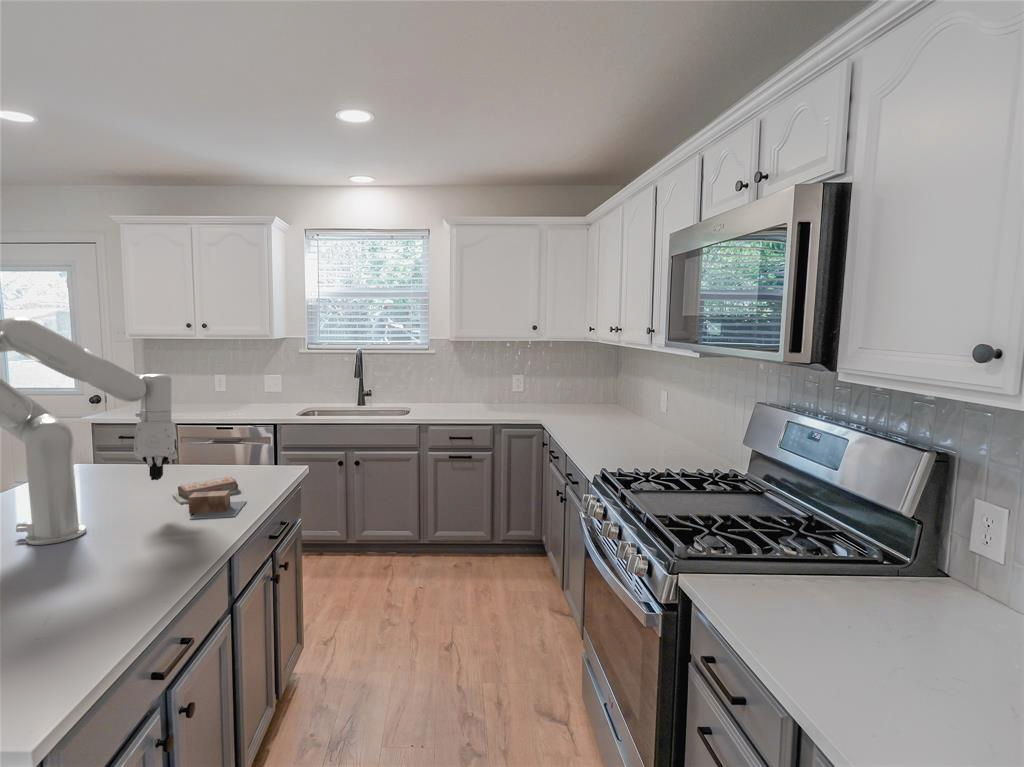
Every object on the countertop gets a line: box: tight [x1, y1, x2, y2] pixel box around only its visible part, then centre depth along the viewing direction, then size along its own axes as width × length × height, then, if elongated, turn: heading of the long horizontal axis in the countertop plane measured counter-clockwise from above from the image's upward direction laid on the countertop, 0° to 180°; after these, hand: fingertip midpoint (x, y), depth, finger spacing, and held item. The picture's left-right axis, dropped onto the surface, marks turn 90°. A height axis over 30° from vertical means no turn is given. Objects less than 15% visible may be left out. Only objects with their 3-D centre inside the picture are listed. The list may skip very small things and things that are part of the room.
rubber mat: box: [189, 500, 248, 521], centre depth 172 cm, size 12×14×1 cm
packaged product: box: [171, 476, 242, 505], centre depth 187 cm, size 18×5×10 cm
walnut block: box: [188, 491, 231, 515], centre depth 171 cm, size 5×5×10 cm
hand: (156, 478), depth 167 cm, fingers closed
